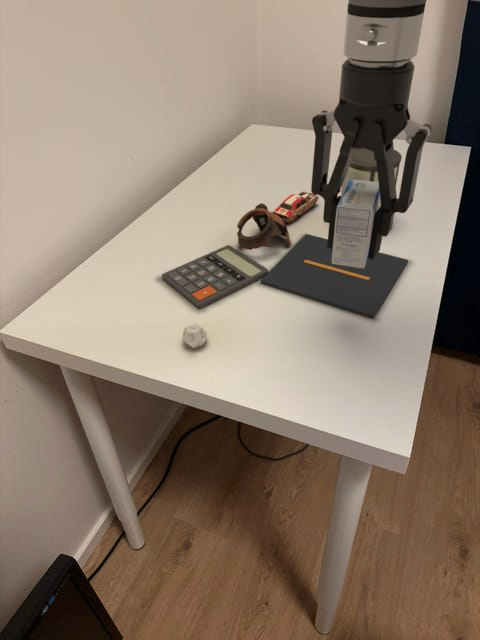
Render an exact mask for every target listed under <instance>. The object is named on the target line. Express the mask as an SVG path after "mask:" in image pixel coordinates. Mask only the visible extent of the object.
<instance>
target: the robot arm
mask: <svg viewBox="0 0 480 640" xmlns="http://www.w3.org/2000/svg"><path fill="white" fill-rule="evenodd" d="M470 1H473V2H480V0H470ZM347 3H348V4H347V11H346V21H345V31H344V33H345V34H344V42H343V43H344V44H343V55H344V56H345V57H346V58H347V59H346V60H344V62H342V65H341V73H340V84H339V98H338V103H337V105H336V107H335V108H334V110H329V111H327V110H326V109H325V110H322V111H320V112H319V113H317V114H316V115H314V116H313V117H312V119H311V124H312V127H313V132H314V137H315V138H314V150H313V161H312V175H311V185H310V191H311V192H310V193H313V194H314V195H317V196H319V197H321V198H322V199H323V201H324V202H323V203H324V204H323V214H322V220H323V223H326V224H328V231H327V232H328V233H327V239H328V243H327V248H330V249H333V240H334V230H335V219H336V211H337V206H338V204H339V202H340V200H341V197H342V196H341V195H339V194H341V190H342V184H343V181H344V179H345V176H346V174H347V171H348V169H349V166H350V163H351V161H352V158H353V156H354V153H355V151H356V149H359V148H366V149H368V150H370V151H374V159H375V161H376V164H377V173H378V182H379V191H380V200H381V206H380V208H379V209H378V210H377V212H376V213H375V216H374V223H373V229H372V235H371V242H370V248H369V254H368V258H369V259H374V258H375V256H376V255H377V254H378V252H379V253H380V250H381V246H382V239H383V237H388V235H389V233H390V232H391V231H392V229H393V223H394V218H395V214H396V213H400V214H406V212H408V210H409V208H410V207H411V205H412V204H413V202H414V197H415V192H416V185H417V181H418V177H419V170H420V166H421V165H420V164H421V159H422V153H423V148H424V145H425V144H426V142H427V140H428V138H429V137H430V135H431V133H432V130H433V128H432V125H431V124H429V123H425V124H423V125H422V124H421V123H419V122H416V121H414V120H412V119H411V114H410V111H409V101H410V94H411V89H412V84H413V79H414V78H413V77H414V72H415V64H414V62H413V61H412V59H414V58H415V57H416V56H417V55H418V50H419V45H420V39H421V33H422V26H423V21H424V16H425V10H426V9H425V8H426V4H427V0H348V2H347ZM336 124H337V126H338V129H339V130H340V131H341V134H342V135H343V139H342V143H341V146H340V149H339V153H338V156H337V158H336V161H335V164H334V167H333V170H332V172H331V175H330V177H329V169H330V168H329V167H330V159H331V149H332V139H333V130H334V128H335V126H336ZM403 131H404V132H405V134H406V137H405V142H406V143H407V144H408V147H407V149H406V153H405V154H406V155H405V159H404V165H403V170H402V176H401V183H400V187H399V195H397V183H395V172H394V161H393V150H395V146H394V140H395V139H396V138H397V137H398V136H399V135H400V134H401V133H402V132H403ZM328 178H329V179H328ZM397 196H398V197H397Z"/></svg>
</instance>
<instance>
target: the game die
mask: <svg viewBox="0 0 480 640" xmlns="http://www.w3.org/2000/svg"><path fill="white" fill-rule="evenodd" d="M207 333H208V331H206V330H205V329H204V328H203V327H202V326H201V325H199V324H197V323H196V322H193V323H191V324H189V325H185V328H184V329H183V331H182V336H181V341H183V342H184V343H185V344H186V345H187V346H189V347H190V348H192V349H198V348H199V347H202V346H203V345H204V344H205V343H206V341H207Z"/></svg>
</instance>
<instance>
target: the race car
mask: <svg viewBox="0 0 480 640" xmlns="http://www.w3.org/2000/svg"><path fill="white" fill-rule="evenodd" d="M319 198H320V196H319V195H314V194H313V193H312V192H306V191H301V192H299V193H297V194H296V193H293V194H290V195H289V196H287V197H286V198H285V199H284V200H283V201H282V202H281V203H280V204H279V205H278V206H277V207H276V208H275V209H274V210H273V211H272V213H274V214H276V215H278V216H279V217H280V218H281V219H282V220H283V221H284V223H288V224H290V223H292V222H295V221H296V220H297V219H298V218H299V217H300V216H302V215H303V214H305V213H306V212H307V211H308V210H310V209H314V208H315V206H316V204H317V202H318V201H319Z"/></svg>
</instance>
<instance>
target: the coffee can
mask: <svg viewBox="0 0 480 640" xmlns="http://www.w3.org/2000/svg"><path fill="white" fill-rule="evenodd" d="M402 158H403V156H402V154H401V153H400V152H399V151H397V150H396V149H394V150H393V161H394V172H395V183H396V184H397V182H398V177H399V170H400V164H401V162H402ZM349 180H363V181H371V182H378V173H377V164H376V161H375V159H374V151H370V150H368V149H366V148H359V149H356V151H355V153H354V156H353V158H352V161H351V163H350V166H349V169H348V171H347V174H346V176H345V179H344V181H343V184H342V186H341V189H340V190H341V191H340V196H342V195H343V193H344V191H345V188H346V186H347V184H348V181H349ZM378 183H379V182H378ZM380 206H381V200H380V197H379V203H378V209H379V208H380ZM378 209H377V210H378Z"/></svg>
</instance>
